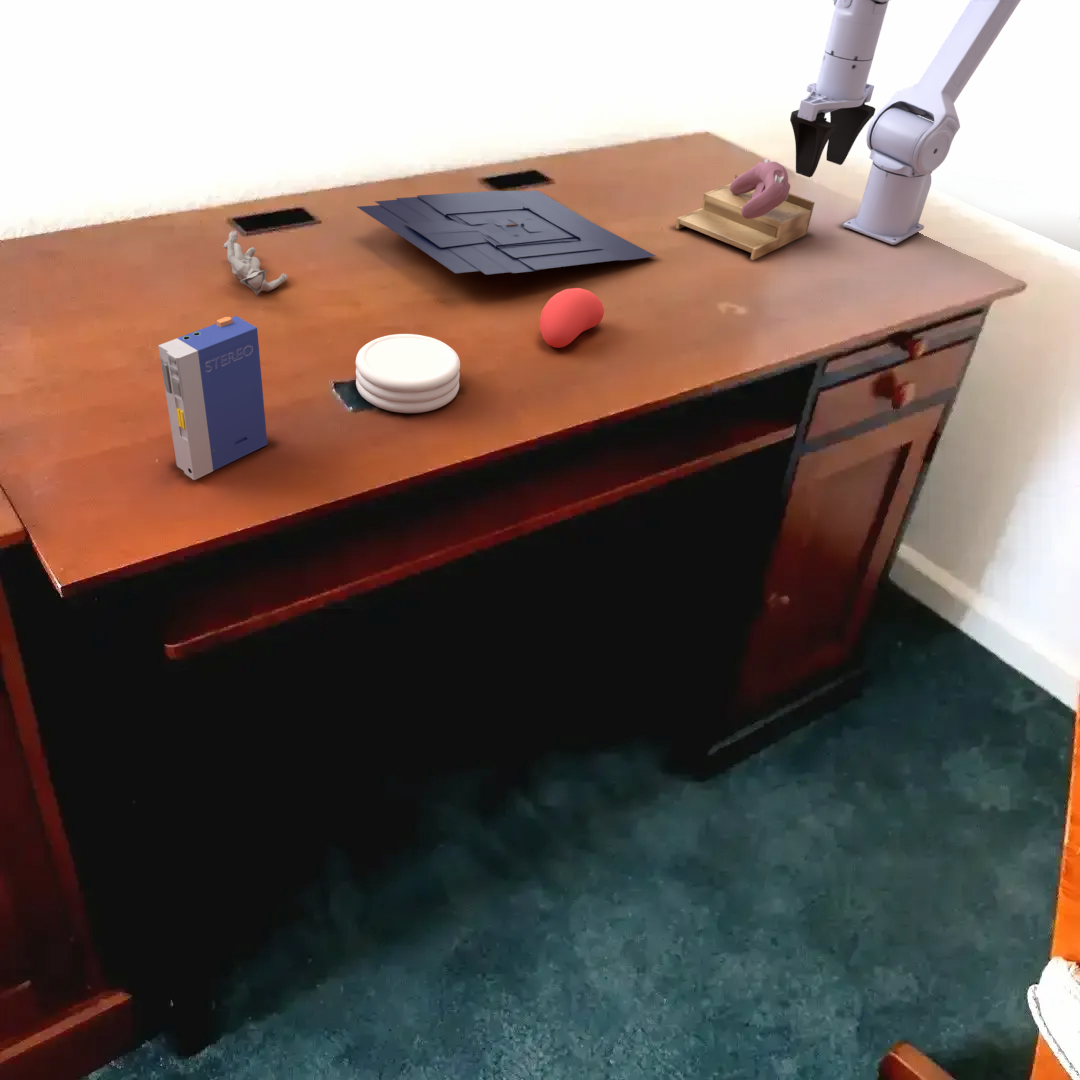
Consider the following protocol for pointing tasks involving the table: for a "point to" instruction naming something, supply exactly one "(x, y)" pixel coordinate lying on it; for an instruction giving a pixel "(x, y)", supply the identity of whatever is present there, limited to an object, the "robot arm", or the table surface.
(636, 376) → the table surface
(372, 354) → the coaster
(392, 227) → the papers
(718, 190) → the step shelf
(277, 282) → the soldier figure
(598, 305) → the red kidney bean
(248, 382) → the walkman
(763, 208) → the video game controller
